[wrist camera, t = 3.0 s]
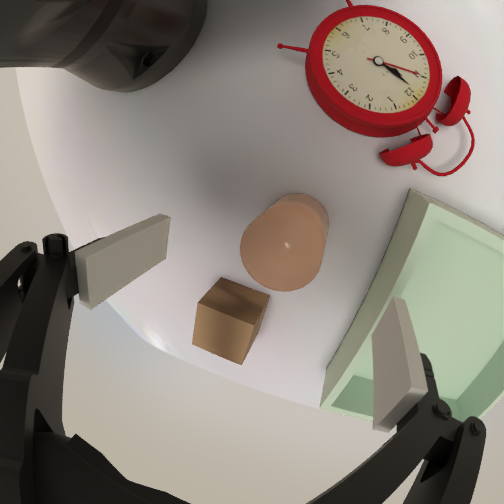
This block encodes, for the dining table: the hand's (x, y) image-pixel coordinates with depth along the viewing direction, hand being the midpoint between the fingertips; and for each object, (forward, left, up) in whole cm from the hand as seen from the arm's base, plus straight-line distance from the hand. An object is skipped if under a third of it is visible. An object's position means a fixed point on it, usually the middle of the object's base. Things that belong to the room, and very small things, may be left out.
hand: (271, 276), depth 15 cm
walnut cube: (-3, -10, -9) cm, 14 cm away
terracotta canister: (0, 0, -9) cm, 9 cm away
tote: (+17, -4, -9) cm, 20 cm away
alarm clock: (+4, +13, -10) cm, 17 cm away
